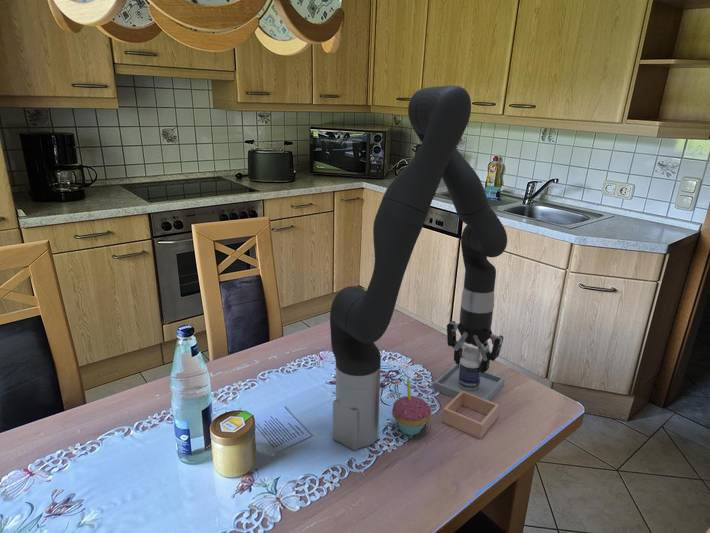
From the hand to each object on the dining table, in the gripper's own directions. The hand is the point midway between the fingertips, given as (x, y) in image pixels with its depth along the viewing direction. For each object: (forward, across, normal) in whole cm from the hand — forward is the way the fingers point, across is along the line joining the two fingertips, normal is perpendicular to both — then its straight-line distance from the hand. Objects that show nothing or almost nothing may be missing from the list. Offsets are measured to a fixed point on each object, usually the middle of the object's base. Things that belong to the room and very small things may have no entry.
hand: (470, 367), depth 120 cm
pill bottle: (+6, 0, 0) cm, 6 cm away
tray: (+6, 0, 0) cm, 6 cm away
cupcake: (+6, -3, -23) cm, 24 cm away
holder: (+6, +6, -12) cm, 15 cm away
